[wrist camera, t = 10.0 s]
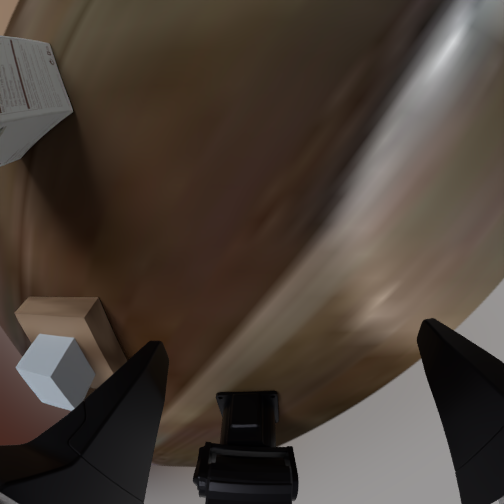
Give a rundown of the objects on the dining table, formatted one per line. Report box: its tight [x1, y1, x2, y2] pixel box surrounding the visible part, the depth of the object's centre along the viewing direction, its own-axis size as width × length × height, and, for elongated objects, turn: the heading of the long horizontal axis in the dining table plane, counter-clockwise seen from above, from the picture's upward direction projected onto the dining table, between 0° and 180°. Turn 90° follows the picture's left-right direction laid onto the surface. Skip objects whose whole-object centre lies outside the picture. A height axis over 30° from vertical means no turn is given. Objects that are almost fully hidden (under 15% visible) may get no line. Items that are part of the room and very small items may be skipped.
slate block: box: [16, 334, 96, 411], centre depth 21 cm, size 5×5×5 cm
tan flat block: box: [15, 297, 127, 389], centre depth 24 cm, size 10×10×3 cm
